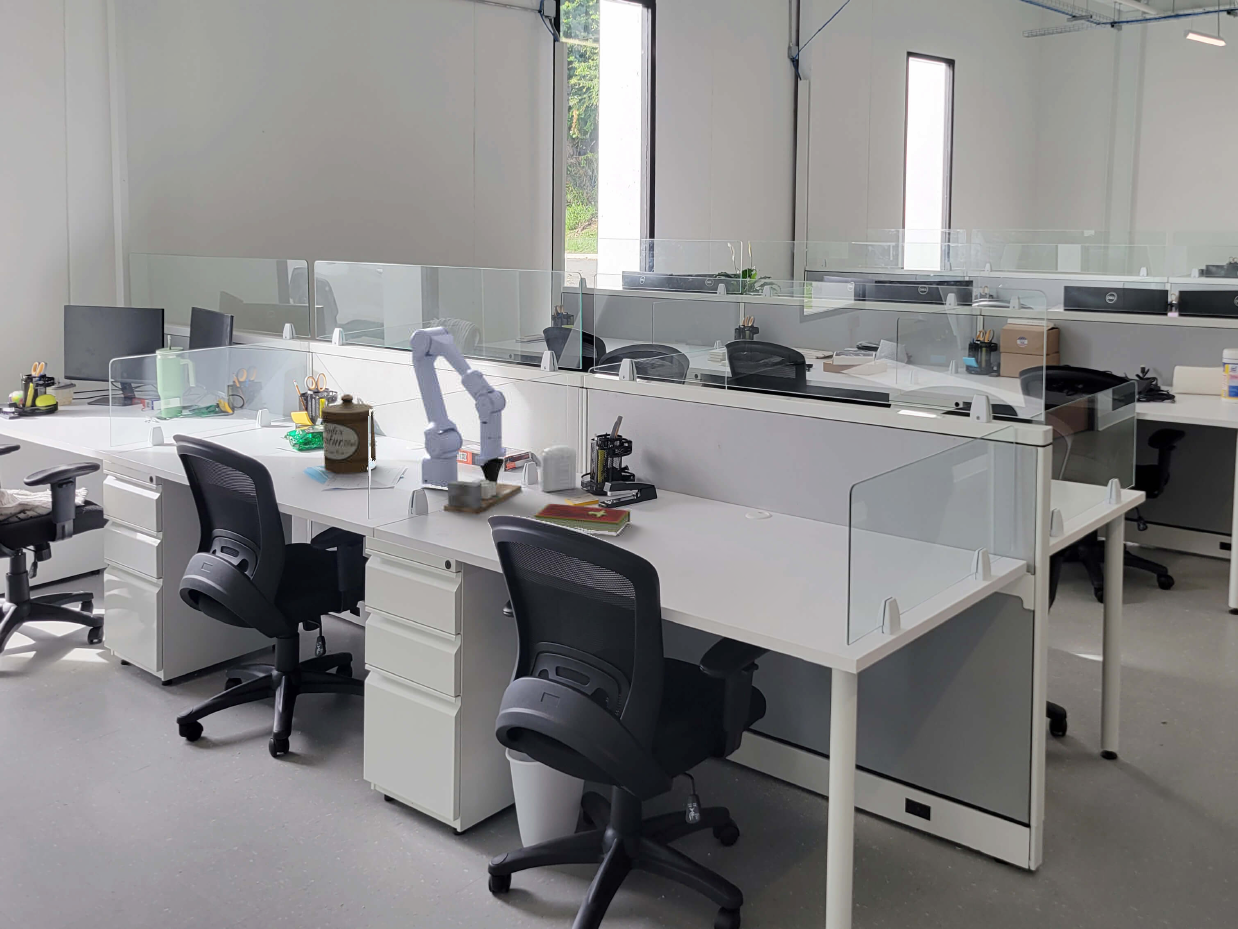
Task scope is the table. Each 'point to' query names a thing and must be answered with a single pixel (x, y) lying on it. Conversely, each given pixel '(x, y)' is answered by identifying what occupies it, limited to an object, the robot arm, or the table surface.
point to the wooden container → (347, 436)
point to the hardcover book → (584, 517)
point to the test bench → (484, 501)
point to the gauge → (487, 488)
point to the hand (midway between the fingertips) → (491, 485)
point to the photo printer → (558, 468)
